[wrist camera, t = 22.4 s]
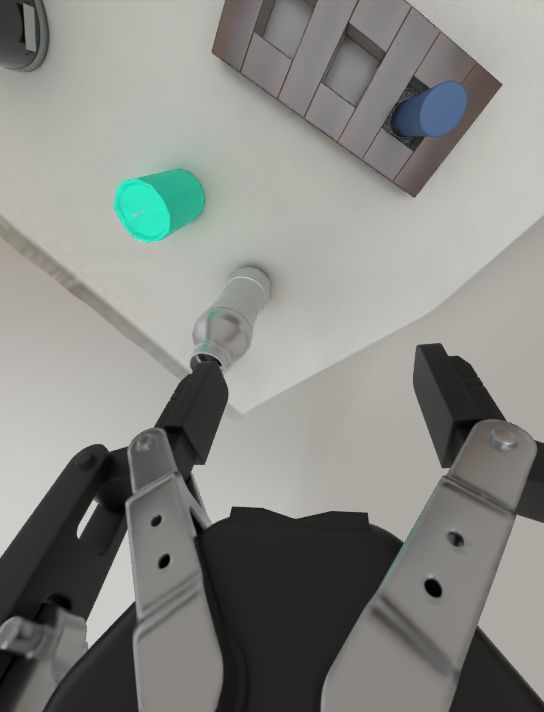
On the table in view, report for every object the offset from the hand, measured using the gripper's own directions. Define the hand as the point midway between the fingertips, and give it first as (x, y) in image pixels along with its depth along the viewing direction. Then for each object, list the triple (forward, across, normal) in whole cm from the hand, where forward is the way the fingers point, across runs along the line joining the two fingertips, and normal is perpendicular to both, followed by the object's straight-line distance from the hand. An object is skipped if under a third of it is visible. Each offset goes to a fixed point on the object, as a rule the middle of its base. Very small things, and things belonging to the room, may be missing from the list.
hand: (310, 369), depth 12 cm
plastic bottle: (+31, +11, +8) cm, 34 cm away
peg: (+31, -10, -7) cm, 33 cm away
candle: (+31, +17, -5) cm, 36 cm away
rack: (+31, -4, -12) cm, 33 cm away
